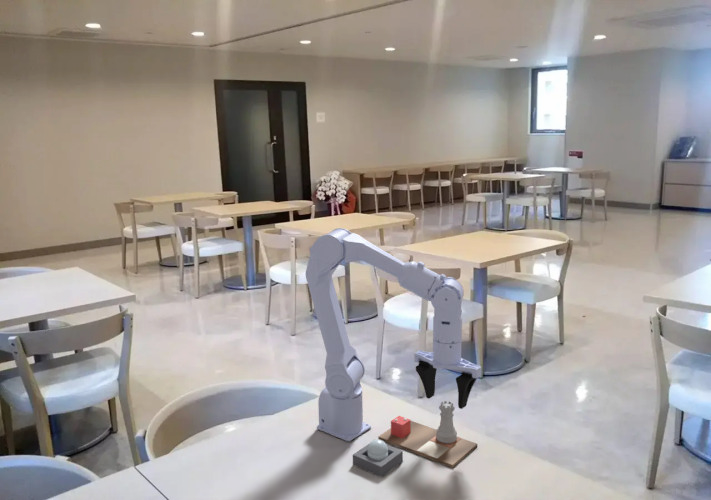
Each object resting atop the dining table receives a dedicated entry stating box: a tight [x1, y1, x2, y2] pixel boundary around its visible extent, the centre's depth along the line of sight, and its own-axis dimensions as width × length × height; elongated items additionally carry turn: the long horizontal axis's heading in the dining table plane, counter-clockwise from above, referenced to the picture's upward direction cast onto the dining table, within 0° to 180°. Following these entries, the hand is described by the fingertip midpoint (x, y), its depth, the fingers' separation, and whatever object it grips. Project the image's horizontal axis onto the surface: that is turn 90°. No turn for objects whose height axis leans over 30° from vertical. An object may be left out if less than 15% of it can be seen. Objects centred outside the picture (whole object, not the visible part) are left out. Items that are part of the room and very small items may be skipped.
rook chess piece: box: [436, 400, 458, 444], centre depth 122 cm, size 4×4×8 cm
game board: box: [377, 420, 478, 469], centre depth 123 cm, size 18×10×1 cm, turn 51°
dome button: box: [368, 438, 388, 462], centre depth 115 cm, size 4×4×4 cm
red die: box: [390, 415, 412, 438], centre depth 126 cm, size 3×3×3 cm
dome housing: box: [352, 442, 404, 478], centre depth 116 cm, size 7×7×2 cm
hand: (446, 401), depth 121 cm, fingers open, 7 cm apart
